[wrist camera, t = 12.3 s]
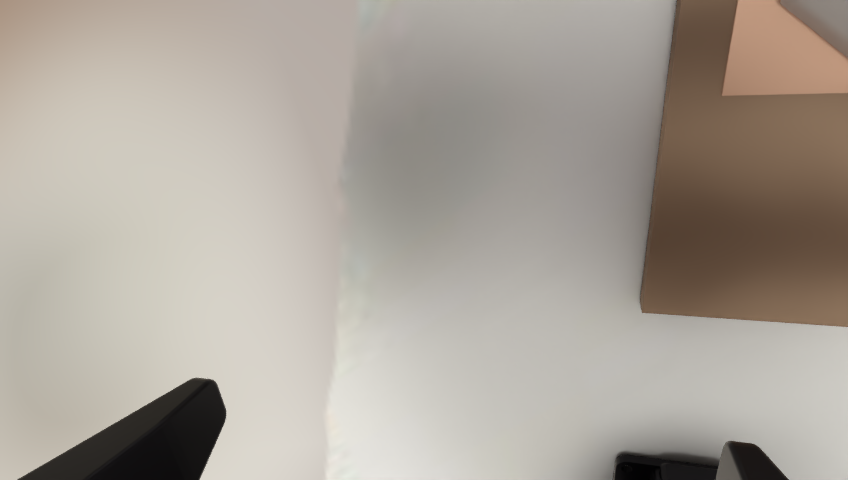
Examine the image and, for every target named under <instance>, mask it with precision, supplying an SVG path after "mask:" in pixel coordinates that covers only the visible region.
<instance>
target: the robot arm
mask: <svg viewBox="0 0 848 480" xmlns="http://www.w3.org/2000/svg"><path fill="white" fill-rule="evenodd" d="M225 419H226V408H225V405H224V403H223V399H222V397H221V394H220V391H219V388H218V385H217V383H216V382H215V381H214V380H211V379H204V378H193V379H191V380H189V381H187V382H185V383H184V384H182V385H180V386H178V387H177V388H175V389H173V390H172V391H170V392H168V393H166V394H165V395H163V396H161V397H159V398H158V399H156V400H154V401H152V402H151V403H149V404H147V405H146V406H144V407H142V408H140V409H139V410H137V411H135V412H133V413H132V414H130V415H128V416H127V417H125V418H123V419H121V420H120V421H118V422H116V423H114V424H113V425H111V426H109V427H108V428H106V429H104V430H102V431H101V432H99V433H97V434H96V435H94V436H92V437H91V438H89V439H87V440H85V441H83V442H82V443H80V444H78V445H76V446H75V447H73V448H71V449H70V450H68V451H66V452H65V453H63V454H61V455H59V456H57V457H56V458H54V459H52V460H51V461H49V462H47V463H45V464H44V465H42V466H40V467H39V468H37V469H35V470H33V471H31V472H30V473H28V474H26V475H25V476H23V477H21V478H19V479H18V480H200V477H201V475H202V473H203V470H204V468H205V466H206V464H207V461H208V459H209V457H210V455H211V452H212V450H213V448H214V446H215V443H216V441H217V439H218V437H219V434H220V432H221V430H222V427H223V425H224V423H225ZM625 465H628V466H625ZM613 480H789V479H788V478H787V477H786V476H785V475H784V474H783V473H782V472H781V471H780V470H779V468H778V467H777V466H776V465H775V464H774V463H773V462H772V461H771V460H770V459H769V457H768V456H767V455H766V454H765V453H764V452H763V451H762V450H761V449H760V448H759V447H758V446H756V445H755V444H751V443H744V442H735V441H728V442H726V443H725V445H724V447H723V451H722V455H721V459H720V463H719V467H716V466H708V465H700V464H693V463H685V462H677V461H670V460H662V459H654V458H647V457H639V456H631V455H621V456H619V457H617V458H616V460H615V468H614V476H613Z"/></svg>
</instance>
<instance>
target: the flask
mask: <svg viewBox="0 0 848 480" xmlns="http://www.w3.org/2000/svg"><path fill="white" fill-rule="evenodd" d="M780 4H781V5H783V6H784V7H785V8H786V9H788V10H789V11H790V12H791V13H793V14H794V15H795V16H796V17H798V18H799V19H800V20H801V21H803V22H804V23H805V24H806V25H808V26H809V27H810V28H811V29H812V30H814V31H815V32H816V33H817V34H819V35H820V36H821V37H822V38H824V39H825V40H826V41H827V42H829V43H830V44H831V45H832V46H834V47H835V48H836V49H837V50H839V51H840V52H841V53H842V54H844V55H845V56H846V57H847V58H848V0H781V1H780Z"/></svg>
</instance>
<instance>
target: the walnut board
mask: <svg viewBox="0 0 848 480" xmlns="http://www.w3.org/2000/svg"><path fill="white" fill-rule="evenodd" d="M780 1H781V0H677V5H676V13H675V21H674V29H673V37H672V45H671V53H670V61H669V69H668V78H667V86H666V94H665V102H664V110H663V118H662V126H661V134H660V142H659V150H658V159H657V167H656V175H655V183H654V191H653V199H652V207H651V215H650V223H649V232H648V240H647V248H646V256H645V264H644V272H643V280H642V288H641V296H640V304H641V310H642V313H654V314H669V315H683V316H698V317H712V318H727V319H741V320H756V321H770V322H785V323H799V324H814V325H828V326H843V327H848V58H847V57H846V56H845V55H844V54H842V53H841V52H840V51H839V50H837V49H836V48H835V47H834V46H832V45H831V44H830V43H829V42H827V41H826V40H825V39H824V38H822V37H821V36H820V35H819V34H817V33H816V32H815V31H814V30H812V29H811V28H810V27H809V26H808V25H806V24H805V23H804V22H803V21H801V20H800V19H799V18H798V17H796V16H795V15H794V14H793V13H791V12H790V11H789V10H788V9H786V8H785V7H784V6H783V5H781V4H780Z"/></svg>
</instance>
